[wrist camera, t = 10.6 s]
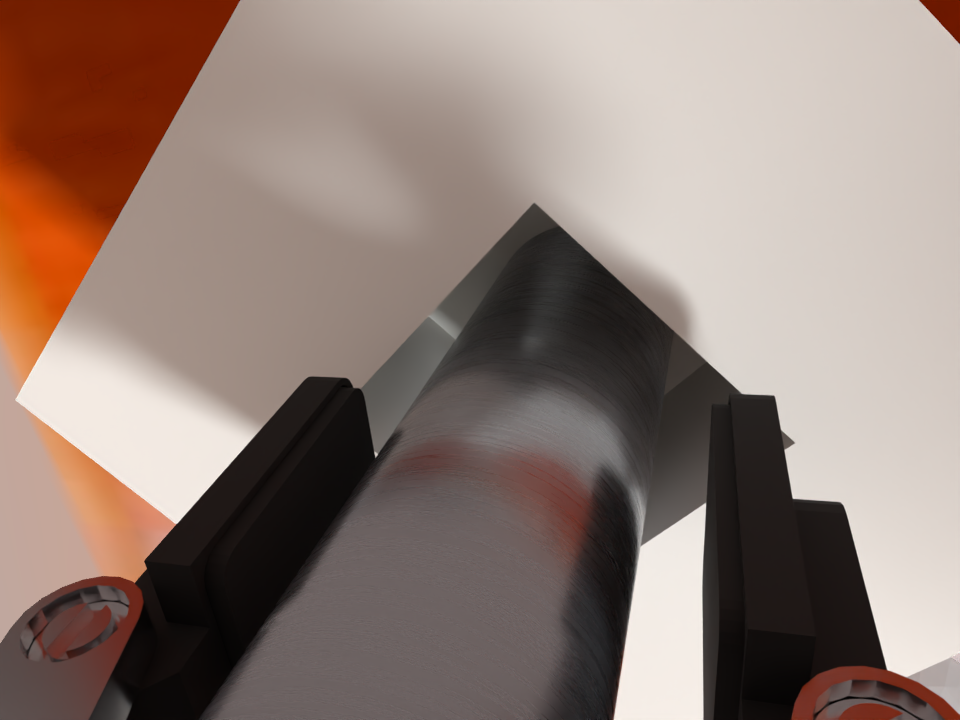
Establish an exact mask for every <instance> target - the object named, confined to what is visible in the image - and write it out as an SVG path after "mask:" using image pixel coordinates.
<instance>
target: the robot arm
mask: <svg viewBox="0 0 960 720" xmlns="http://www.w3.org/2000/svg"><path fill="white" fill-rule="evenodd" d="M374 459H375V453H374V447H373V441H372V436H371V430H370V425H369V419H368V414H367V408H366V402H365V398H364V394H363V392H362V390H361V389H359V388H353V385H352V383H351V382H350V380H349V379H347V378H340V377H316V376H311V377H308V378H306V379H305V380H304V381H303V382H302V383H301V384H300V385H299V387H298V388H297V389H296V390H295V391H294V392H293V393H292V395H291V396H290V397H289V398H288V399H287V400H286V401H285V402H284V404H283V405H282V406H281V407H280V408H279V409H278V410H277V411H276V413H275V414H274V415H273V416H272V417H271V418H270V419H269V421H268V422H267V423H266V424H265V425H264V426H263V427H262V428H261V430H260V431H259V432H258V433H257V434H256V435H255V436H254V437H253V439H252V440H251V441H250V442H249V443H248V444H247V445H246V446H245V448H244V449H243V450H242V451H241V452H240V453H239V454H238V456H237V457H236V458H235V459H234V460H233V461H232V462H231V463H230V465H229V466H228V467H227V468H226V469H225V470H224V471H223V472H222V474H221V475H220V476H219V477H218V478H217V479H216V480H215V482H214V483H213V484H212V485H211V486H210V487H209V488H208V489H207V491H206V492H205V493H204V494H203V495H202V496H201V497H200V498H199V500H198V501H197V502H196V503H195V504H194V505H193V506H192V508H191V509H190V510H189V511H188V512H187V513H186V514H185V515H184V517H183V518H182V519H181V520H180V521H179V522H178V523H177V524H176V526H175V527H174V528H173V529H172V530H171V531H170V532H169V533H168V535H167V536H166V537H165V538H164V539H163V540H162V541H161V543H160V544H159V545H158V546H157V547H156V548H155V549H154V550H153V552H152V553H151V554H150V555H149V556H148V557H147V558H146V559H145V561H144V562H145V564H146V567H147V570H146V571H145V572H144V573H143V574H142V575H141V576H140V578H139V579H138V580H137V581H136V582H135V583H134V582H132V581H130V580H127V579H124V578H121V577H108V576H101V577H96V578H90V579H85V580H81V581H78V582H75V583H73V584H70V585H67V586H65V587H62V588H60V589H58V590H56V591H55V592H53V593H51V594H49V595H48V596H45V597H44V598H42V599H41V600H39V601H38V602H37V603H35V604H34V605H33V606H32V607H31V608H29V609H28V610H27V611H25V612H24V613H23V615H22V616H21V617H20V618H19V619H18V620H17V622H16V623H15V624H14V625H13V626H12V627H11V629H10V630H9V632H8V633H7V635H6V636H5V638H4V639H3V640H2V642H1V643H0V720H198V719H199V718H200V716H201V715H202V714H203V712H204V711H205V709H206V708H207V706H208V705H209V703H210V702H211V700H212V699H213V697H214V696H215V694H216V693H217V691H218V690H219V688H220V687H221V685H222V684H223V682H224V681H225V680H226V678H227V677H228V675H229V674H230V672H231V671H232V669H233V668H234V666H235V665H236V663H237V662H238V660H239V659H240V657H241V656H242V654H243V653H244V651H245V650H246V649H247V647H248V646H249V644H250V643H251V641H252V640H253V638H254V637H255V635H256V634H257V632H258V631H259V629H260V628H261V626H262V625H263V623H264V622H265V620H266V619H267V617H268V616H269V615H270V613H271V612H272V610H273V609H274V607H275V606H276V604H277V603H278V601H279V600H280V598H281V597H282V595H283V594H284V592H285V591H286V589H287V588H288V586H289V585H290V583H291V582H292V581H293V579H294V578H295V576H296V575H297V573H298V572H299V570H300V569H301V567H302V566H303V564H304V563H305V561H306V560H307V558H308V557H309V555H310V554H311V552H312V551H313V549H314V548H315V547H316V545H317V544H318V542H319V541H320V539H321V538H322V536H323V535H324V533H325V532H326V530H327V529H328V527H329V526H330V524H331V523H332V521H333V520H334V518H335V517H336V516H337V514H338V513H339V511H340V510H341V508H342V507H343V505H344V504H345V502H346V501H347V499H348V498H349V496H350V495H351V493H352V492H353V490H354V489H355V487H356V486H357V484H358V483H359V482H360V480H361V479H362V477H363V476H364V474H365V473H366V471H367V470H368V468H369V467H370V465H371V464H372V462H373V461H374ZM702 611H703V720H960V714H959V713H958V712H957V711H956V710H955V709H954V708H953V707H952V706H951V705H949V704H948V703H947V702H946V701H945V700H944V699H943V698H942V697H940V696H939V695H937V694H936V693H934V692H933V691H931V690H930V689H928V688H926V687H925V686H923V685H922V684H920V683H919V682H917V681H914V680H912V679H909V678H907V677H904V676H902V675H899V674H897V673H894V672H892V671H888V670H887V667H886V663H885V659H884V656H883V652H882V648H881V644H880V640H879V636H878V633H877V629H876V625H875V621H874V617H873V613H872V609H871V606H870V602H869V598H868V594H867V590H866V586H865V583H864V579H863V575H862V571H861V567H860V563H859V559H858V556H857V552H856V548H855V544H854V540H853V536H852V533H851V529H850V525H849V521H848V517H847V513H846V511H845V508H844V505H843V504H842V503H841V502H832V501H818V500H804V499H793V497H792V492H791V486H790V480H789V474H788V468H787V462H786V456H785V451H784V445H783V439H782V433H781V427H780V421H779V416H778V410H777V404H776V399H775V396H774V395H753V394H729V400H728V405H727V404H712V409H711V425H710V444H709V462H708V480H707V499H706V517H705V536H704V554H703V579H702Z"/></svg>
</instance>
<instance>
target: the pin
mask: <svg viewBox="0 0 960 720" xmlns="http://www.w3.org/2000/svg"><path fill="white" fill-rule="evenodd" d="M673 333H674V331H673V330H672V329H671V328H670V327H669V326H668V325H667V324H666V323H665V322H664V321H663V320H661V319H660V318H659V317H658V316H657V315H656V314H655V313H654V312H653V311H652V310H651V309H650V308H648V307H647V306H646V305H645V304H644V303H643V302H642V301H641V300H640V299H639V298H638V297H636V296H635V295H634V294H633V293H632V292H631V291H630V290H629V289H628V288H627V287H626V286H625V285H623V284H622V283H621V282H620V281H619V280H618V279H617V278H616V277H615V276H614V275H613V274H612V273H610V272H609V271H608V270H607V269H606V268H605V267H604V266H603V265H602V264H601V263H600V262H598V261H597V260H596V259H595V258H594V257H593V256H592V255H591V254H590V253H589V252H588V251H587V250H585V249H584V248H583V247H582V246H581V245H580V244H579V243H578V242H577V241H576V240H575V239H574V238H572V237H571V236H570V235H569V234H568V233H567V232H566V231H565V230H564V229H563V228H562V227H561V226H560V227H556V228H553V229H550V230H547V231H544V232H542V233H540V234H538V235H536V236H534V237H533V238H531V239H530V240H528V241H527V242H526V243H525V244H523V245H522V246H521V247H520V248H519V249H518V250H517V251H516V252H515V254H514V255H513V256H512V257H511V258H510V260H509V261H508V263H507V264H506V266H505V267H504V269H503V270H502V272H501V273H500V275H499V276H498V278H497V279H496V281H495V282H494V284H493V285H492V286H491V288H490V289H489V291H488V292H487V294H486V295H485V297H484V298H483V300H482V301H481V303H480V304H479V306H478V307H477V309H476V310H475V312H474V313H473V315H472V316H471V318H470V319H469V320H468V322H467V323H466V325H465V326H464V328H463V329H462V331H461V332H460V334H459V335H458V337H457V338H456V340H455V341H454V343H453V344H452V346H451V347H450V349H449V350H448V351H447V353H446V354H445V356H444V357H443V359H442V360H441V362H440V363H439V365H438V366H437V368H436V369H435V371H434V372H433V374H432V375H431V377H430V378H429V380H428V381H427V383H426V384H425V385H424V387H423V388H422V390H421V391H420V393H419V394H418V396H417V397H416V399H415V400H414V402H413V403H412V405H411V406H410V408H409V409H408V411H407V412H406V414H405V415H404V417H403V418H402V419H401V421H400V422H399V424H398V425H397V427H396V428H395V430H394V431H393V433H392V434H391V436H390V437H389V439H388V440H387V442H386V443H385V445H384V446H383V448H382V449H381V450H380V452H379V453H378V455H377V456H376V458H375V459H374V461H373V462H372V464H371V465H370V467H369V468H368V470H367V471H366V473H365V474H364V476H363V477H362V479H361V480H360V482H359V483H358V484H357V486H356V487H355V489H354V490H353V492H352V493H351V495H350V496H349V498H348V499H347V501H346V502H345V504H344V505H343V507H342V508H341V510H340V511H339V513H338V514H337V516H336V517H335V518H334V520H333V521H332V523H331V524H330V526H329V527H328V529H327V530H326V532H325V533H324V535H323V536H322V538H321V539H320V541H319V542H318V544H317V545H316V547H315V548H314V549H313V551H312V552H311V554H310V555H309V557H308V558H307V560H306V561H305V563H304V564H303V566H302V567H301V569H300V570H299V572H298V573H297V575H296V576H295V578H294V579H293V581H292V582H291V583H290V585H289V586H288V588H287V589H286V591H285V592H284V594H283V595H282V597H281V598H280V600H279V601H278V603H277V604H276V606H275V607H274V609H273V610H272V612H271V613H270V615H269V616H268V617H267V619H266V620H265V622H264V623H263V625H262V626H261V628H260V629H259V631H258V632H257V634H256V635H255V637H254V638H253V640H252V641H251V643H250V644H249V646H248V647H247V649H246V650H245V651H244V653H243V654H242V656H241V657H240V659H239V660H238V662H237V663H236V665H235V666H234V668H233V669H232V671H231V672H230V674H229V675H228V677H227V678H226V680H225V681H224V682H223V684H222V685H221V687H220V688H219V690H218V691H217V693H216V694H215V696H214V697H213V699H212V700H211V702H210V703H209V705H208V706H207V708H206V709H205V711H204V712H203V714H202V715H201V716H200V718H199V719H198V720H614V715H615V709H616V702H617V696H618V689H619V683H620V676H621V670H622V663H623V657H624V650H625V644H626V637H627V631H628V624H629V618H630V612H631V605H632V599H633V592H634V586H635V579H636V573H637V566H638V560H639V553H640V547H641V540H642V534H643V527H644V521H645V514H646V508H647V501H648V495H649V489H650V482H651V476H652V469H653V463H654V456H655V450H656V443H657V437H658V430H659V424H660V417H661V411H662V404H663V398H664V391H665V385H666V379H667V372H668V366H669V359H670V353H671V346H672V340H673Z"/></svg>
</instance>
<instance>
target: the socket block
mask: <svg viewBox="0 0 960 720" xmlns="http://www.w3.org/2000/svg"><path fill="white" fill-rule="evenodd" d="M560 226H561V227H562V228H563V229H564V230H565V231H566V232H567V233H568V234H569V235H570V236H571V237H572V238H574V239H575V240H576V241H577V242H578V243H579V244H580V245H581V246H582V247H583V248H584V249H585V250H587V251H588V252H589V253H590V254H591V255H592V256H593V257H594V258H595V259H596V260H597V261H598V262H600V263H601V264H602V265H603V266H604V267H605V268H606V269H607V270H608V271H609V272H610V273H612V274H613V275H614V276H615V277H616V278H617V279H618V280H619V281H620V282H621V283H622V284H623V285H625V286H626V287H627V288H628V289H629V290H630V291H631V292H632V293H633V294H634V295H635V296H636V297H638V298H639V299H640V300H641V301H642V302H643V303H644V304H645V305H646V306H647V307H648V308H650V309H651V310H652V311H653V312H654V313H655V314H656V315H657V316H658V317H659V318H660V319H661V320H663V321H664V322H665V323H666V324H667V325H668V326H669V327H670V328H671V329H672V330H673V331H674V333H673V340H672V346H671V353H670V359H669V366H668V372H667V379H666V385H665V391H664V398H663V404H662V411H661V417H660V424H659V430H658V437H657V443H656V450H655V456H654V463H653V469H652V476H651V482H650V489H649V495H648V501H647V508H646V514H645V521H644V527H643V534H642V540H641V547H640V553H639V560H638V566H637V573H636V579H635V586H634V592H633V599H632V605H631V612H630V618H629V624H628V631H627V637H626V644H625V650H624V657H623V663H622V670H621V676H620V683H619V689H618V696H617V702H616V709H615V715H614V720H703V611H702V579H703V554H704V536H705V517H706V499H707V480H708V462H709V444H710V425H711V409H712V404H727V405H728V400H729V394H753V395H774V396H775V399H776V404H777V410H778V416H779V421H780V427H781V433H782V439H783V445H784V451H785V456H786V462H787V468H788V474H789V480H790V486H791V492H792V497H793V499H804V500H818V501H832V502H841V503H842V504H843V505H844V508H845V511H846V513H847V517H848V521H849V525H850V529H851V533H852V536H853V540H854V544H855V548H856V552H857V556H858V559H859V563H860V567H861V571H862V575H863V579H864V583H865V586H866V590H867V594H868V598H869V602H870V606H871V609H872V613H873V617H874V621H875V625H876V629H877V633H878V636H879V640H880V644H881V648H882V652H883V656H884V659H885V663H886V667H887V670H888V671H892V672H894V673H897V674H899V675H902V676H904V677H908V676H910V675H913V674H915V673H917V672H919V671H921V670H924V669H926V668H928V667H930V666H933V665H935V664H937V663H939V662H941V661H944V660H946V659H948V658H950V657H953V656H955V655H957V654H959V653H960V44H959V43H958V42H957V41H956V40H955V39H954V37H953V36H952V35H951V34H950V33H949V32H948V31H947V30H946V29H945V28H944V27H943V26H942V25H941V23H940V22H939V21H938V20H937V19H936V18H935V17H934V16H933V15H932V14H931V13H930V12H929V11H928V9H927V8H926V7H925V6H924V5H923V4H922V3H921V2H920V1H919V0H240V2H239V4H238V5H237V7H236V9H235V11H234V12H233V14H232V16H231V18H230V20H229V21H228V23H227V25H226V27H225V28H224V30H223V32H222V34H221V36H220V37H219V39H218V41H217V43H216V44H215V46H214V48H213V50H212V52H211V53H210V55H209V57H208V59H207V60H206V62H205V64H204V66H203V68H202V69H201V71H200V73H199V75H198V76H197V78H196V80H195V82H194V83H193V85H192V87H191V89H190V91H189V92H188V94H187V96H186V98H185V99H184V101H183V103H182V105H181V107H180V108H179V110H178V112H177V114H176V115H175V117H174V119H173V121H172V123H171V124H170V126H169V128H168V130H167V131H166V133H165V135H164V137H163V139H162V140H161V142H160V144H159V146H158V147H157V149H156V151H155V153H154V155H153V156H152V158H151V160H150V162H149V163H148V165H147V167H146V169H145V171H144V172H143V174H142V176H141V178H140V179H139V181H138V183H137V185H136V187H135V188H134V190H133V192H132V194H131V195H130V197H129V199H128V201H127V203H126V204H125V206H124V208H123V210H122V211H121V213H120V215H119V217H118V218H117V220H116V222H115V224H114V226H113V227H112V229H111V231H110V233H109V234H108V236H107V238H106V240H105V242H104V243H103V245H102V247H101V249H100V250H99V252H98V254H97V256H96V258H95V259H94V261H93V263H92V265H91V266H90V268H89V270H88V272H87V274H86V275H85V277H84V279H83V281H82V282H81V284H80V286H79V288H78V290H77V291H76V293H75V295H74V297H73V298H72V300H71V302H70V304H69V306H68V307H67V309H66V311H65V313H64V314H63V316H62V318H61V320H60V322H59V323H58V325H57V327H56V329H55V330H54V332H53V334H52V336H51V337H50V339H49V341H48V343H47V345H46V346H45V348H44V350H43V352H42V353H41V355H40V357H39V359H38V361H37V362H36V364H35V366H34V368H33V369H32V371H31V373H30V375H29V377H28V378H27V380H26V382H25V384H24V385H23V387H22V389H21V391H20V393H19V394H18V396H17V398H16V401H17V402H19V403H20V404H21V405H22V406H24V407H25V408H26V409H28V410H29V411H30V412H31V413H33V414H34V415H35V416H37V417H38V418H39V419H41V420H42V421H43V422H44V423H46V424H47V425H48V426H50V427H51V428H52V429H53V430H55V431H56V432H57V433H59V434H60V435H61V436H63V437H64V438H65V439H66V440H68V441H69V442H70V443H72V444H73V445H74V446H76V447H77V448H78V449H79V450H81V451H82V452H83V453H85V454H86V455H87V456H89V457H90V458H91V459H92V460H94V461H95V462H96V463H98V464H99V465H100V466H101V467H103V468H104V469H105V470H107V471H108V472H109V473H111V474H112V475H113V476H114V477H116V478H117V479H118V480H120V481H121V482H122V483H124V484H125V485H126V486H127V487H129V488H130V489H131V490H133V491H134V492H135V493H137V494H138V495H139V496H140V497H142V498H143V499H144V500H146V501H147V502H148V503H149V504H151V505H152V506H153V507H155V508H156V509H157V510H159V511H160V512H161V513H162V514H164V515H165V516H166V517H168V518H169V519H170V520H172V521H173V522H174V523H175V524H177V523H178V522H179V521H180V520H181V519H182V518H183V517H184V515H185V514H186V513H187V512H188V511H189V510H190V509H191V508H192V506H193V505H194V504H195V503H196V502H197V501H198V500H199V498H200V497H201V496H202V495H203V494H204V493H205V492H206V491H207V489H208V488H209V487H210V486H211V485H212V484H213V483H214V482H215V480H216V479H217V478H218V477H219V476H220V475H221V474H222V472H223V471H224V470H225V469H226V468H227V467H228V466H229V465H230V463H231V462H232V461H233V460H234V459H235V458H236V457H237V456H238V454H239V453H240V452H241V451H242V450H243V449H244V448H245V446H246V445H247V444H248V443H249V442H250V441H251V440H252V439H253V437H254V436H255V435H256V434H257V433H258V432H259V431H260V430H261V428H262V427H263V426H264V425H265V424H266V423H267V422H268V421H269V419H270V418H271V417H272V416H273V415H274V414H275V413H276V411H277V410H278V409H279V408H280V407H281V406H282V405H283V404H284V402H285V401H286V400H287V399H288V398H289V397H290V396H291V395H292V393H293V392H294V391H295V390H296V389H297V388H298V387H299V385H300V384H301V383H302V382H303V381H304V380H305V379H306V378H308V377H311V376H316V377H340V378H347V379H349V380H350V382H351V383H352V385H353V388H359V389H361V390H362V392H363V394H364V398H365V402H366V408H367V414H368V419H369V425H370V430H371V436H372V441H373V447H374V453H375V458H376V456H377V455H378V453H379V452H380V450H381V449H382V448H383V446H384V445H385V443H386V442H387V440H388V439H389V437H390V436H391V434H392V433H393V431H394V430H395V428H396V427H397V425H398V424H399V422H400V421H401V419H402V418H403V417H404V415H405V414H406V412H407V411H408V409H409V408H410V406H411V405H412V403H413V402H414V400H415V399H416V397H417V396H418V394H419V393H420V391H421V390H422V388H423V387H424V385H425V384H426V383H427V381H428V380H429V378H430V377H431V375H432V374H433V372H434V371H435V369H436V368H437V366H438V365H439V363H440V362H441V360H442V359H443V357H444V356H445V354H446V353H447V351H448V350H449V349H450V347H451V346H452V344H453V343H454V341H455V340H456V338H457V337H458V335H459V334H460V332H461V331H462V329H463V328H464V326H465V325H466V323H467V322H468V320H469V319H470V318H471V316H472V315H473V313H474V312H475V310H476V309H477V307H478V306H479V304H480V303H481V301H482V300H483V298H484V297H485V295H486V294H487V292H488V291H489V289H490V288H491V286H492V285H493V284H494V282H495V281H496V279H497V278H498V276H499V275H500V273H501V272H502V270H503V269H504V267H505V266H506V264H507V263H508V261H509V260H510V258H511V257H512V256H513V255H514V254H515V252H516V251H517V250H518V249H519V248H520V247H521V246H522V245H523V244H525V243H526V242H527V241H528V240H530V239H531V238H533V237H534V236H536V235H538V234H540V233H542V232H544V231H547V230H550V229H553V228H556V227H560Z"/></svg>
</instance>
